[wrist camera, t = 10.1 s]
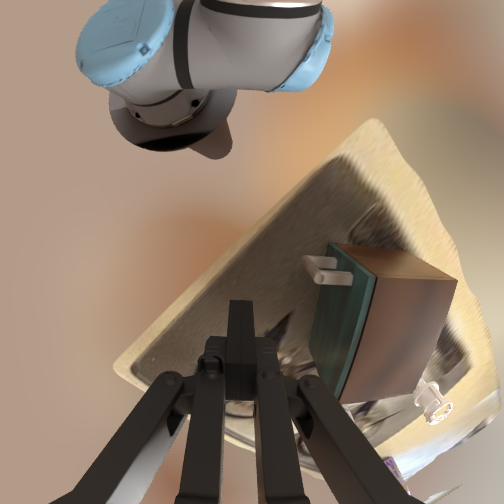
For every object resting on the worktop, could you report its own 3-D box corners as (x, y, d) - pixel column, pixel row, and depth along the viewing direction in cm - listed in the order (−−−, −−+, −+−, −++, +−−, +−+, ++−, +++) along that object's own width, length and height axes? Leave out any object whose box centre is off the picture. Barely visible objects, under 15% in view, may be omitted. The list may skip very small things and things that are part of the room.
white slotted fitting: (407, 372, 53) (436, 412, 39) (429, 365, 53) (459, 401, 39) (401, 392, 55) (425, 432, 41) (422, 385, 55) (448, 421, 41)
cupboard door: (281, 346, 49) (294, 406, 34) (297, 239, 43) (325, 273, 28) (313, 346, 49) (335, 404, 34) (334, 243, 44) (376, 276, 29)
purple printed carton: (398, 469, 70) (412, 499, 53) (387, 474, 70) (399, 505, 53) (393, 454, 65) (409, 490, 48) (380, 461, 65) (395, 497, 48)
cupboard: (314, 346, 49) (337, 405, 34) (334, 243, 44) (377, 277, 29) (377, 343, 50) (413, 393, 35) (403, 249, 45) (458, 280, 29)
